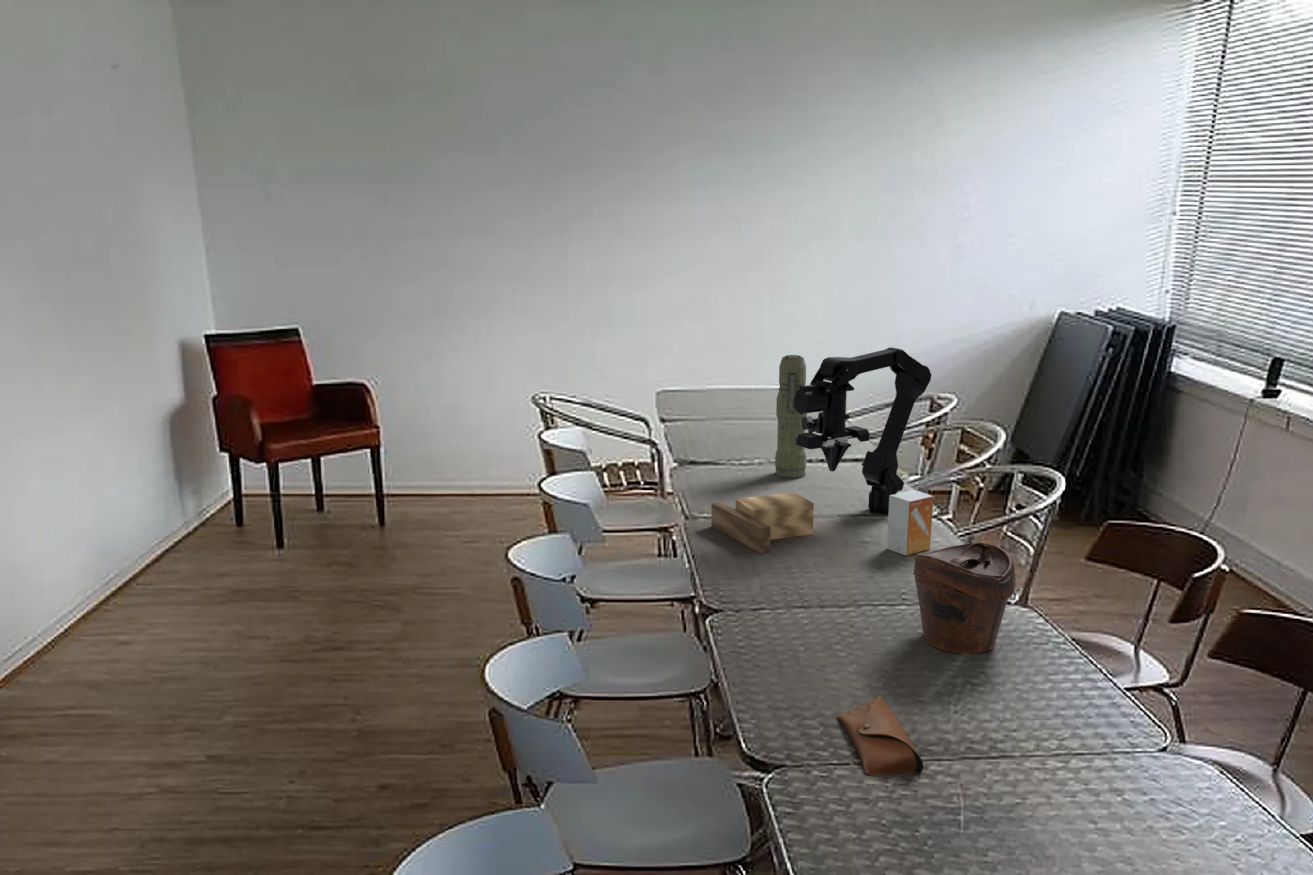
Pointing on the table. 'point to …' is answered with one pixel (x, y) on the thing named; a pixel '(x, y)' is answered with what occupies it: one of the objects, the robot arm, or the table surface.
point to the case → (963, 595)
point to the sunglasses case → (880, 739)
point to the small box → (909, 522)
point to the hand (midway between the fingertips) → (832, 471)
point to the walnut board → (741, 527)
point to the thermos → (790, 419)
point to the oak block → (780, 513)
